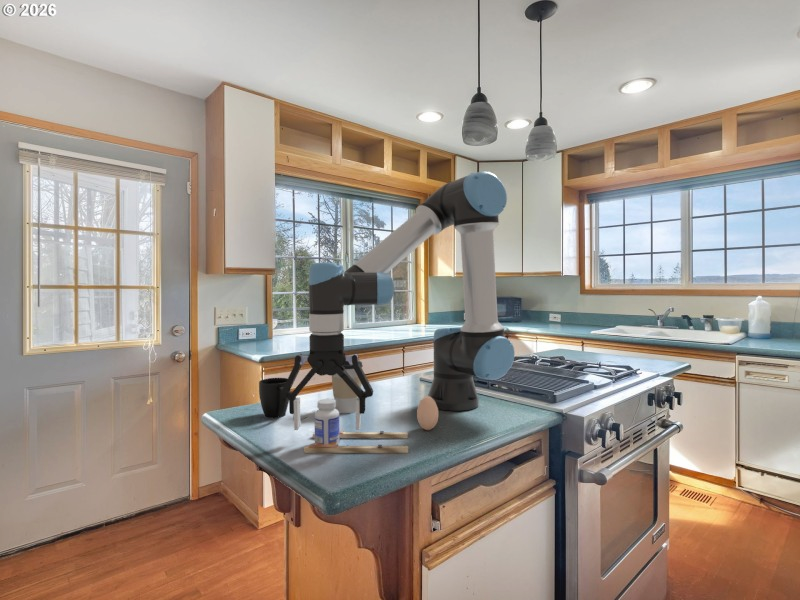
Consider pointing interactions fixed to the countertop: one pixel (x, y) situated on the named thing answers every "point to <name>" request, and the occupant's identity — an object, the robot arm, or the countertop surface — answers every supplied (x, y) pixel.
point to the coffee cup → (345, 390)
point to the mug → (273, 397)
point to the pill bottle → (327, 423)
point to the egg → (427, 413)
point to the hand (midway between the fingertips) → (327, 428)
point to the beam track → (361, 448)
